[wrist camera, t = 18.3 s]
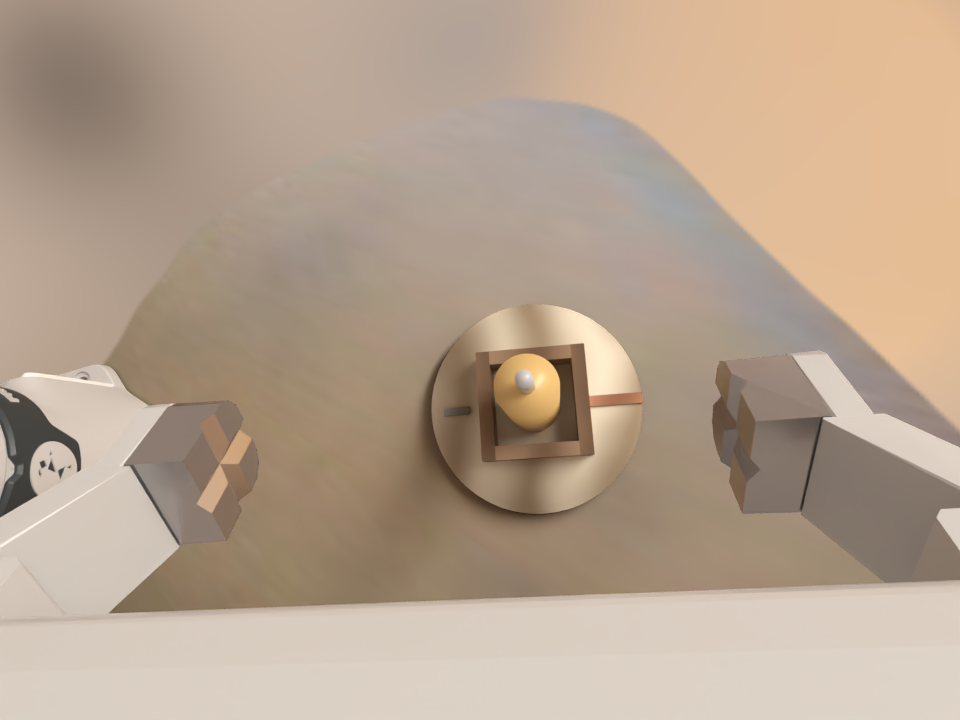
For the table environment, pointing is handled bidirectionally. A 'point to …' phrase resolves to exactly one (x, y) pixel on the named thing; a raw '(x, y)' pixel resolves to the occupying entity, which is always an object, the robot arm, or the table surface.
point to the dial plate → (568, 441)
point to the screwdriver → (528, 391)
